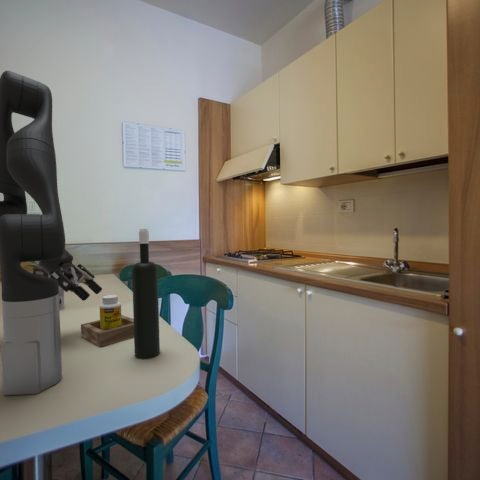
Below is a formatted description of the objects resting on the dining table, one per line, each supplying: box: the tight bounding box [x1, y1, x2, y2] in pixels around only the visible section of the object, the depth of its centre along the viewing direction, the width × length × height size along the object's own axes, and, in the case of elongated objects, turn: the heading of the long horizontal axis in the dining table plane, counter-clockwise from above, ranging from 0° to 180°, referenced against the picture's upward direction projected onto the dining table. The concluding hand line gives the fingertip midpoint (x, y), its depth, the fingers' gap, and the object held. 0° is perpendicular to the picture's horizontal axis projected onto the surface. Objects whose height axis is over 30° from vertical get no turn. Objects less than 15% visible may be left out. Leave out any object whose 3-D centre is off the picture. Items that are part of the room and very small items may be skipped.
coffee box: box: [32, 266, 65, 311], centre depth 117 cm, size 9×6×16 cm
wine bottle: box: [131, 228, 161, 360], centre depth 73 cm, size 6×6×30 cm
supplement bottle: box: [99, 294, 122, 331], centre depth 87 cm, size 6×6×10 cm
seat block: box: [80, 314, 134, 348], centre depth 87 cm, size 12×12×4 cm
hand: (93, 294), depth 86 cm, fingers open, 8 cm apart
